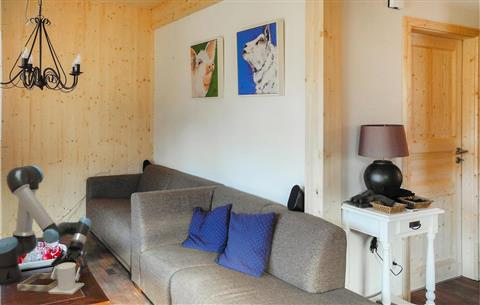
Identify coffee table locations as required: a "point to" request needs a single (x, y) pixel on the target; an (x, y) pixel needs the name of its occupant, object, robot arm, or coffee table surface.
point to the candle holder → (66, 275)
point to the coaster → (70, 291)
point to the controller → (70, 261)
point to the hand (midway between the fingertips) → (64, 279)
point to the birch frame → (43, 288)
